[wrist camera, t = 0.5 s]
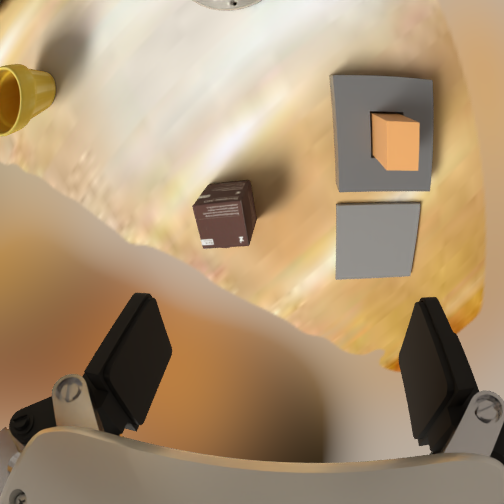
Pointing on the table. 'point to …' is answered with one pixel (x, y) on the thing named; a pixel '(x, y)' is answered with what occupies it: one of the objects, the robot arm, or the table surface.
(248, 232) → the box
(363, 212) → the mat
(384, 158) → the plug
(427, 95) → the socket block
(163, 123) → the table surface
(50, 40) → the table surface
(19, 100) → the plant pot
